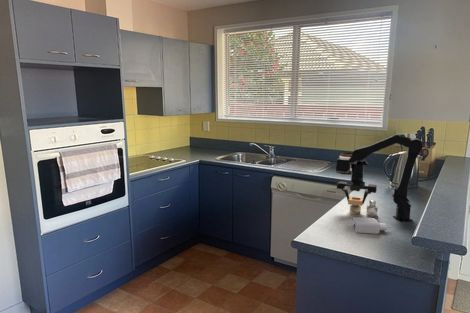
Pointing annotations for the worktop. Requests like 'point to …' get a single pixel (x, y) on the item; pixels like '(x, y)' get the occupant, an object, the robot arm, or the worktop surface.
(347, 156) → the brown layered cake
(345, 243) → the worktop surface
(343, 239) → the worktop surface
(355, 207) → the small brown bottle
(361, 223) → the white plastic bottle
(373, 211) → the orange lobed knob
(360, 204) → the washer
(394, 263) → the worktop surface
